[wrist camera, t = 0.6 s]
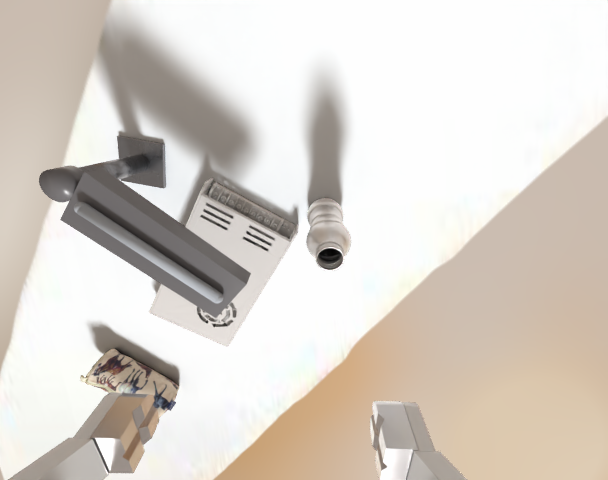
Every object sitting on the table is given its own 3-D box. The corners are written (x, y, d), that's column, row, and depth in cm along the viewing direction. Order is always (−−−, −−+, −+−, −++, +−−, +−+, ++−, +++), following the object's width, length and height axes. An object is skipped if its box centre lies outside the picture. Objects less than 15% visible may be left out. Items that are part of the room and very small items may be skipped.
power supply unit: (299, 223, 57) (297, 233, 52) (233, 331, 69) (227, 347, 64) (213, 176, 53) (203, 182, 49) (160, 299, 65) (148, 312, 61)
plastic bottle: (307, 195, 54) (303, 236, 35) (342, 194, 53) (357, 236, 35) (307, 226, 56) (304, 280, 38) (341, 226, 56) (354, 280, 38)
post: (119, 135, 50) (40, 144, 36) (164, 144, 51) (103, 155, 36) (123, 179, 53) (52, 203, 39) (165, 187, 54) (110, 213, 39)
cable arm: (50, 193, 38) (17, 203, 34) (71, 146, 35) (39, 151, 31) (221, 305, 45) (212, 325, 40) (251, 273, 42) (243, 290, 38)
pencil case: (187, 380, 76) (170, 416, 67) (171, 396, 78) (153, 432, 69) (113, 338, 70) (84, 370, 61) (99, 356, 73) (69, 389, 64)
